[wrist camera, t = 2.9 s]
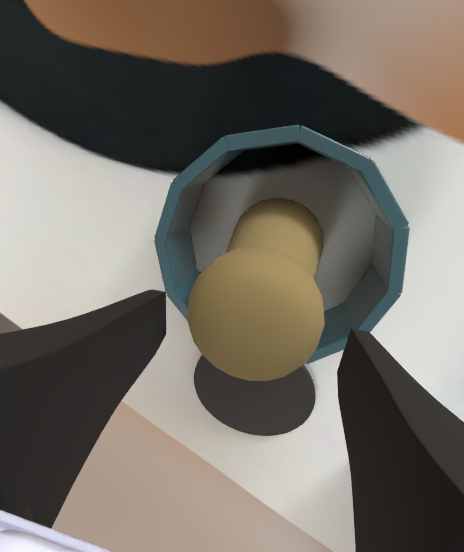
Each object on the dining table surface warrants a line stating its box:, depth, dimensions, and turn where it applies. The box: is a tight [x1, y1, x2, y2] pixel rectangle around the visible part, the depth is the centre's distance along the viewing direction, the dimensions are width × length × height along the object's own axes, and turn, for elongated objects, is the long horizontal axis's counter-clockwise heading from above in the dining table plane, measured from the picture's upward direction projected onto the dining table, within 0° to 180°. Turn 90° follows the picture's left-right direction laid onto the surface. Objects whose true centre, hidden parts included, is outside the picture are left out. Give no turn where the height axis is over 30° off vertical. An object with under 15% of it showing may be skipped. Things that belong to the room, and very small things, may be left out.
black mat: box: [194, 355, 315, 436], centre depth 25 cm, size 10×10×1 cm
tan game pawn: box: [187, 198, 325, 381], centre depth 15 cm, size 6×6×11 cm
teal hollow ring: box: [155, 125, 410, 364], centre depth 18 cm, size 13×13×4 cm
